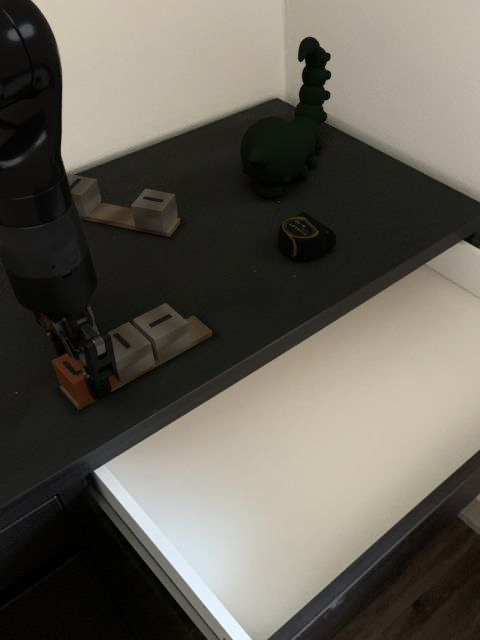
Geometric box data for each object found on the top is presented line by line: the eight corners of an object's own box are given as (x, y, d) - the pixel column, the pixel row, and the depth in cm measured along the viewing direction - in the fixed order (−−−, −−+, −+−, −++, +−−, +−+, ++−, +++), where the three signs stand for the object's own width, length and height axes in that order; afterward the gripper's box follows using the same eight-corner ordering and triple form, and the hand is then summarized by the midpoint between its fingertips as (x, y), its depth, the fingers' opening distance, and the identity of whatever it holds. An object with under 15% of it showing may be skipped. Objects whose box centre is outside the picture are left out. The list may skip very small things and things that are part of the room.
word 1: (59, 216, 95) (51, 189, 92) (75, 200, 98) (68, 172, 94) (169, 238, 92) (164, 211, 89) (181, 221, 95) (178, 193, 91)
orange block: (80, 406, 70) (72, 383, 68) (59, 383, 73) (50, 359, 70) (117, 386, 72) (110, 363, 70) (95, 363, 75) (88, 340, 72)
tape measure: (337, 252, 91) (339, 229, 88) (298, 271, 88) (299, 248, 85) (306, 229, 94) (307, 206, 91) (267, 246, 91) (267, 223, 88)
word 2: (80, 412, 71) (70, 384, 68) (59, 389, 73) (48, 361, 70) (214, 337, 79) (211, 309, 76) (192, 318, 81) (188, 290, 78)
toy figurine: (287, 146, 113) (220, 208, 96) (293, 23, 100) (216, 69, 83) (339, 158, 111) (279, 224, 94) (352, 33, 98) (285, 84, 81)
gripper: (-31, 228, 61) (22, 357, 73) (44, 307, 54) (89, 434, 67) (44, 199, 64) (82, 328, 77) (124, 270, 57) (152, 398, 70)
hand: (85, 377), depth 72 cm, fingers open, 6 cm apart
